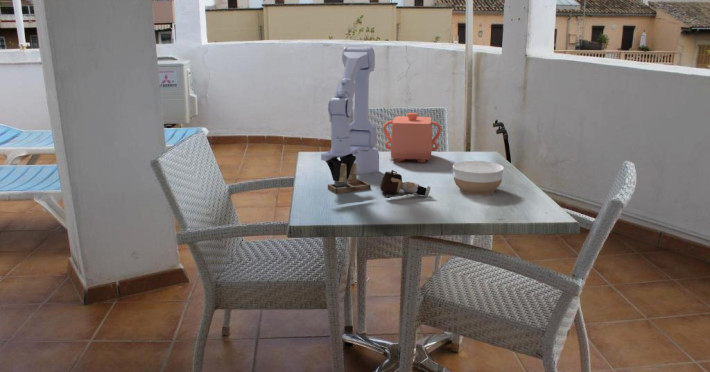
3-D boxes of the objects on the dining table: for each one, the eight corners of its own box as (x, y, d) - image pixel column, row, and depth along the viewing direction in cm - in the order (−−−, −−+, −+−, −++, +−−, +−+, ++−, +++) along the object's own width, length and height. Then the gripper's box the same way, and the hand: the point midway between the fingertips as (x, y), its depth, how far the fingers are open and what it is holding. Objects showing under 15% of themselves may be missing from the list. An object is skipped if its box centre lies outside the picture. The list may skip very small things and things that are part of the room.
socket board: (361, 186, 196) (361, 180, 196) (370, 191, 191) (370, 184, 190) (327, 191, 191) (327, 184, 191) (336, 196, 186) (336, 189, 185)
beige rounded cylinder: (342, 182, 192) (342, 162, 190) (349, 184, 189) (349, 164, 187) (331, 184, 190) (331, 164, 188) (339, 187, 186) (339, 166, 185)
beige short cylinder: (353, 180, 201) (353, 161, 200) (359, 182, 198) (359, 163, 196) (343, 181, 200) (342, 162, 198) (348, 184, 196) (348, 164, 194)
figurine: (433, 179, 181) (385, 166, 182) (426, 205, 180) (378, 191, 181) (430, 186, 190) (384, 173, 191) (423, 210, 188) (377, 198, 189)
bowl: (472, 200, 182) (473, 175, 180) (441, 187, 196) (442, 163, 193) (513, 193, 189) (515, 169, 187) (480, 181, 203) (482, 158, 201)
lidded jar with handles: (386, 149, 253) (386, 106, 248) (440, 150, 250) (442, 107, 245) (380, 162, 229) (380, 116, 224) (440, 164, 226) (442, 117, 221)
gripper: (348, 132, 193) (348, 173, 196) (314, 138, 183) (314, 181, 187) (364, 134, 188) (364, 177, 192) (329, 141, 178) (330, 185, 182)
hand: (340, 179), depth 189 cm, fingers closed on beige rounded cylinder, 4 cm apart
